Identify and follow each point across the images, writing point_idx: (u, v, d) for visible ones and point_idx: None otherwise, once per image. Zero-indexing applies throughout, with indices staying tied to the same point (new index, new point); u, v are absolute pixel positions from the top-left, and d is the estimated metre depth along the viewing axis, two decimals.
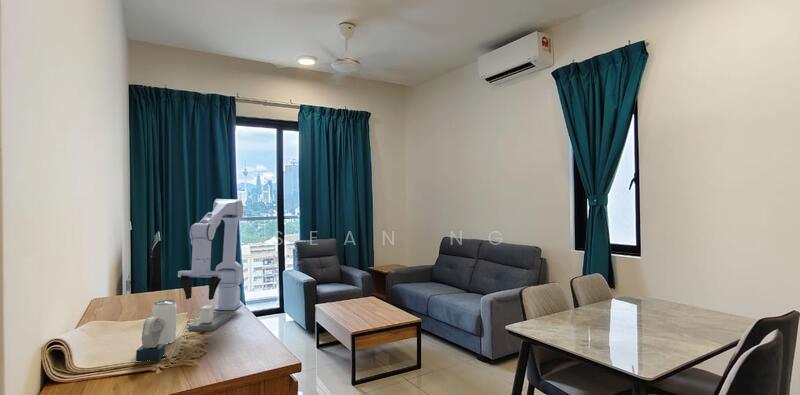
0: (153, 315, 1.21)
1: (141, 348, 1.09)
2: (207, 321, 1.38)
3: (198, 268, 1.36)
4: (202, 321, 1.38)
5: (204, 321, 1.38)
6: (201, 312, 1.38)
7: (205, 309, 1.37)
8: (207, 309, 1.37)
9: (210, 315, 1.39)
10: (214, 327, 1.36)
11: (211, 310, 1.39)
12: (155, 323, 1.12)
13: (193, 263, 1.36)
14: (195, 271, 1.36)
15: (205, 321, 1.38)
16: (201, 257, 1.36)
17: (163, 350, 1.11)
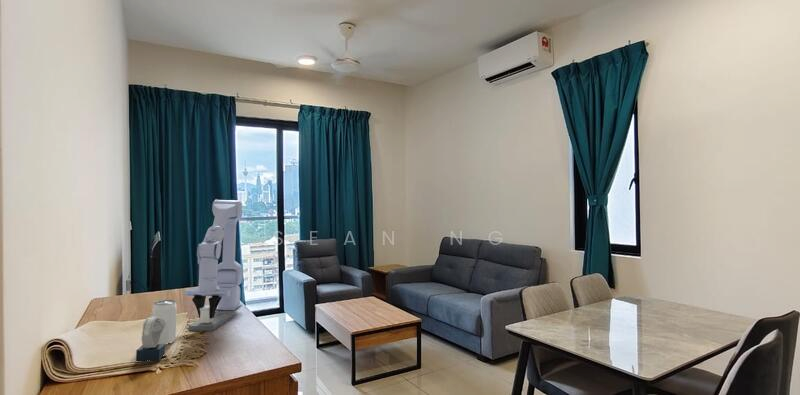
0: (153, 315, 1.21)
1: (141, 348, 1.09)
2: (207, 321, 1.38)
3: (205, 287, 1.37)
4: (202, 321, 1.38)
5: (204, 321, 1.38)
6: (201, 312, 1.38)
7: (205, 309, 1.37)
8: (207, 309, 1.37)
9: None
10: (214, 327, 1.36)
11: None
12: (155, 323, 1.12)
13: (200, 282, 1.37)
14: (202, 290, 1.37)
15: (205, 321, 1.38)
16: (209, 276, 1.37)
17: (163, 350, 1.11)
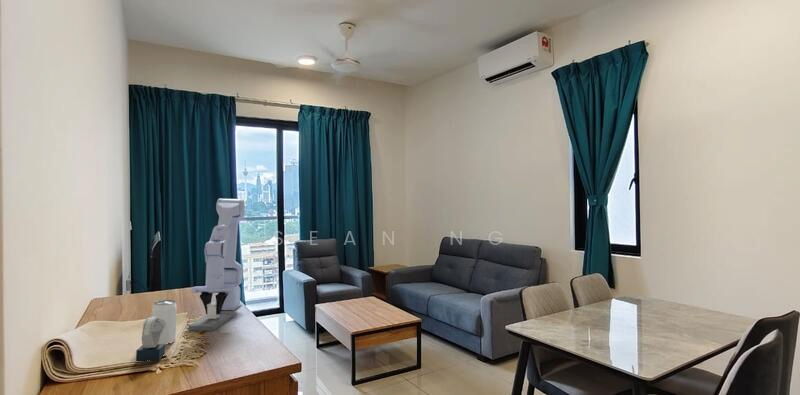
0: (153, 315, 1.21)
1: (141, 348, 1.09)
2: (214, 317, 1.43)
3: (212, 285, 1.42)
4: (209, 317, 1.43)
5: (211, 317, 1.43)
6: (208, 308, 1.43)
7: (212, 305, 1.42)
8: (214, 305, 1.42)
9: None
10: (214, 327, 1.36)
11: None
12: (155, 323, 1.12)
13: (207, 280, 1.42)
14: (209, 287, 1.42)
15: (212, 317, 1.43)
16: (216, 274, 1.42)
17: (163, 350, 1.11)
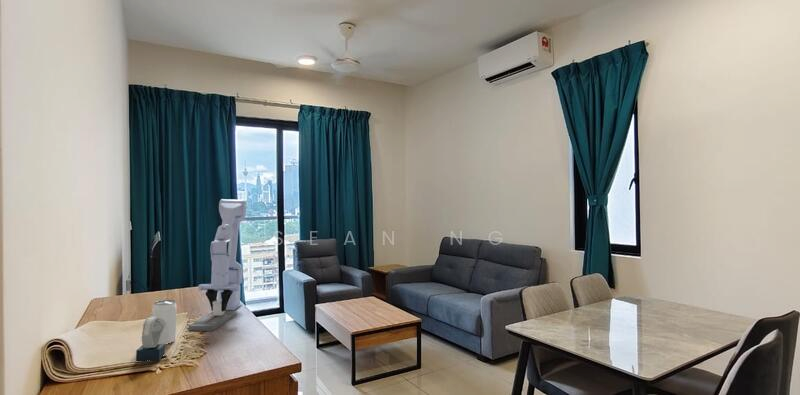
0: (153, 315, 1.21)
1: (141, 348, 1.09)
2: (219, 314, 1.47)
3: (217, 282, 1.46)
4: (214, 314, 1.47)
5: (216, 314, 1.47)
6: (214, 305, 1.47)
7: (217, 302, 1.47)
8: (219, 302, 1.47)
9: None
10: (214, 327, 1.36)
11: None
12: (155, 323, 1.12)
13: (213, 277, 1.47)
14: (215, 285, 1.46)
15: (217, 314, 1.47)
16: (221, 272, 1.47)
17: (163, 350, 1.11)
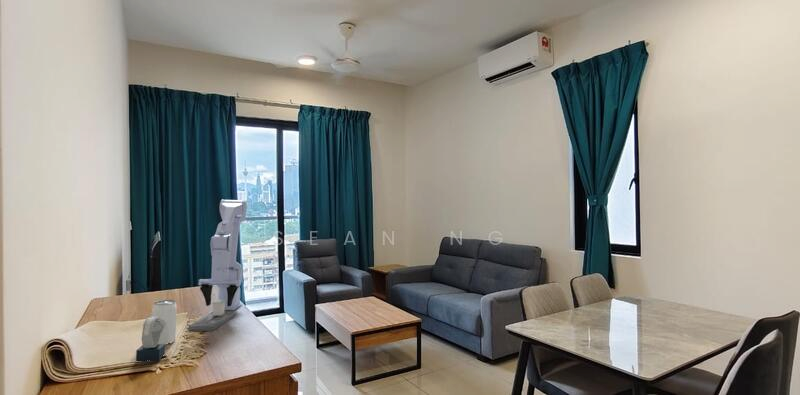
0: (153, 315, 1.21)
1: (141, 348, 1.09)
2: (219, 314, 1.47)
3: (217, 277, 1.46)
4: (214, 314, 1.47)
5: (216, 314, 1.47)
6: (214, 305, 1.47)
7: (217, 302, 1.47)
8: (219, 302, 1.47)
9: (222, 308, 1.48)
10: (214, 327, 1.36)
11: (223, 303, 1.49)
12: (155, 323, 1.12)
13: (213, 272, 1.47)
14: (215, 280, 1.46)
15: (217, 314, 1.47)
16: (222, 267, 1.47)
17: (163, 350, 1.11)
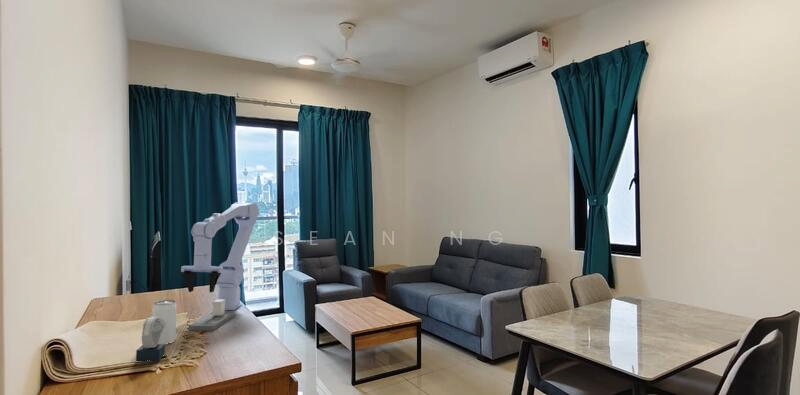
0: (153, 315, 1.21)
1: (141, 348, 1.09)
2: (219, 314, 1.47)
3: (199, 263, 1.48)
4: (214, 314, 1.47)
5: (216, 314, 1.47)
6: (214, 305, 1.47)
7: (217, 302, 1.47)
8: (219, 302, 1.47)
9: (222, 308, 1.48)
10: (214, 327, 1.36)
11: (223, 303, 1.49)
12: (155, 323, 1.12)
13: (195, 259, 1.49)
14: (197, 266, 1.48)
15: (217, 314, 1.47)
16: (200, 253, 1.48)
17: (163, 350, 1.11)
